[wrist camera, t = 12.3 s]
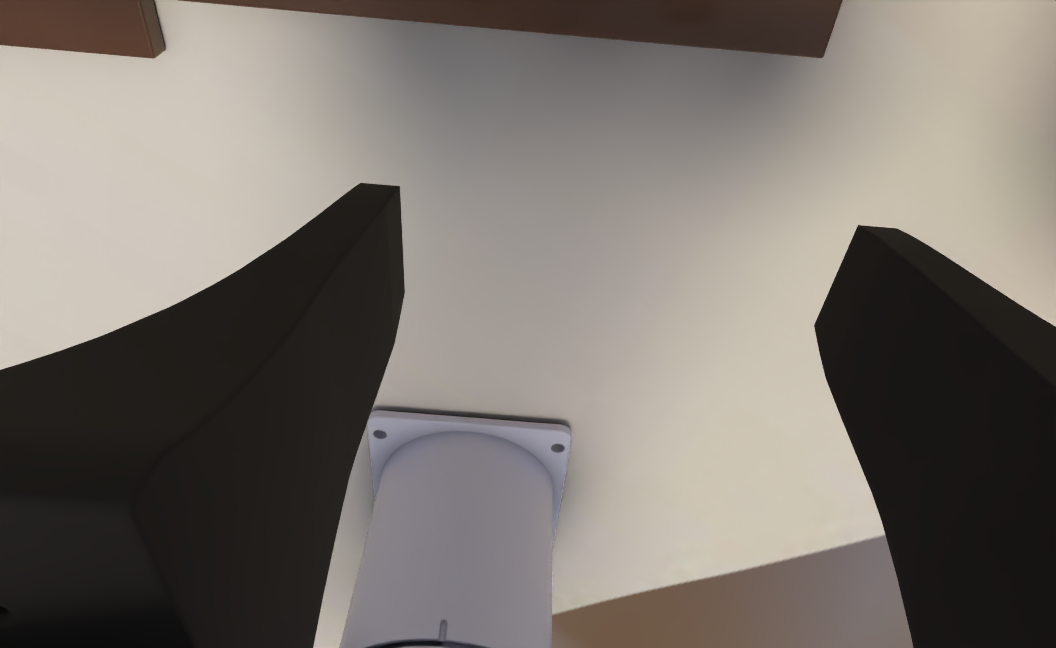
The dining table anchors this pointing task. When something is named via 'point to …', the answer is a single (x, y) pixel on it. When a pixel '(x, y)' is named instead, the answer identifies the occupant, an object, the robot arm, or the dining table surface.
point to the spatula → (455, 21)
